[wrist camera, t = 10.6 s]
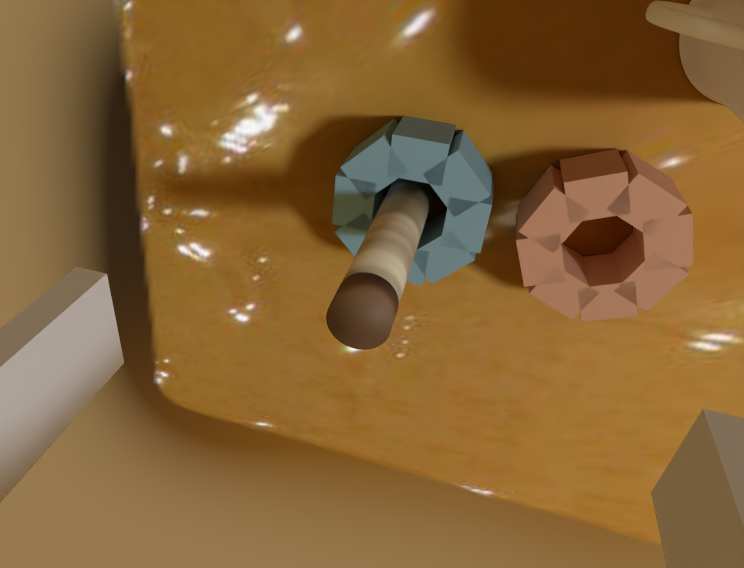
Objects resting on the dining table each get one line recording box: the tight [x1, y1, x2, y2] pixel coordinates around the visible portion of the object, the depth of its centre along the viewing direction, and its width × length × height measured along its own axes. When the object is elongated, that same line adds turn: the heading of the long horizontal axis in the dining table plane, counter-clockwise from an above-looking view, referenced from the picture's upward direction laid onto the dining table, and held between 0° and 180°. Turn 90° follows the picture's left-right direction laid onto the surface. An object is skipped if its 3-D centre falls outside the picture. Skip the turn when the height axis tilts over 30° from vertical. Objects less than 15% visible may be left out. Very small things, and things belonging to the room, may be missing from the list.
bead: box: [332, 116, 494, 285], centre depth 38 cm, size 10×10×4 cm
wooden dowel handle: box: [326, 178, 434, 350], centre depth 33 cm, size 3×3×16 cm
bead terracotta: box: [516, 149, 693, 322], centre depth 36 cm, size 10×10×4 cm
